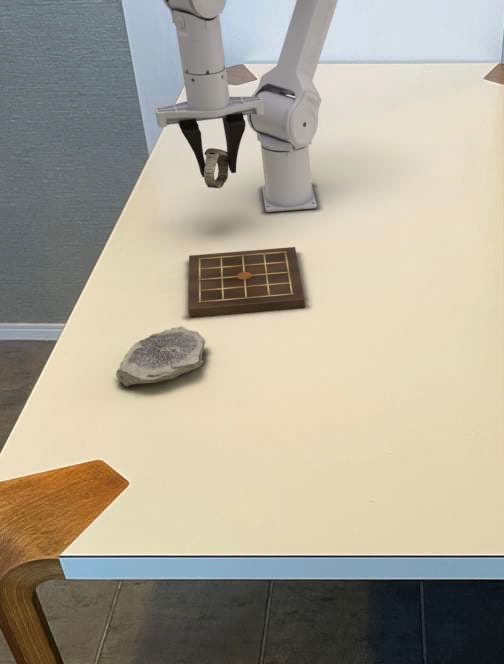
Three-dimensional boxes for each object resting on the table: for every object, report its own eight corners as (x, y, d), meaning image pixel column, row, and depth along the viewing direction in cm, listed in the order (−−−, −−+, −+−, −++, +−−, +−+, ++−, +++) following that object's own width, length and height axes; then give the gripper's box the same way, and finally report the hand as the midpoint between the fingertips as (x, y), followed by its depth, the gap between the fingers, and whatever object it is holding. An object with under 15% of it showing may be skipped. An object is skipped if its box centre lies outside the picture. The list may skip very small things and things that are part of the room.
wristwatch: (235, 177, 125) (231, 142, 122) (221, 194, 121) (217, 158, 117) (212, 175, 126) (208, 139, 122) (197, 192, 121) (193, 156, 118)
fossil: (157, 315, 106) (219, 319, 101) (171, 343, 108) (232, 348, 103) (98, 369, 99) (161, 376, 94) (114, 397, 102) (176, 406, 97)
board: (190, 263, 121) (188, 254, 120) (295, 254, 123) (295, 245, 122) (189, 317, 111) (188, 308, 110) (305, 307, 112) (304, 298, 111)
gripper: (251, 54, 118) (261, 155, 127) (145, 65, 115) (164, 168, 124) (262, 69, 113) (272, 173, 122) (152, 81, 110) (171, 187, 119)
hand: (218, 172), depth 123 cm, fingers closed on wristwatch, 3 cm apart
